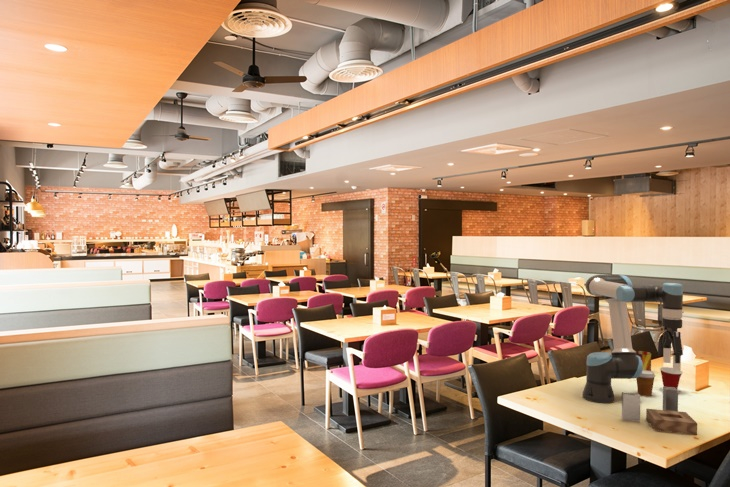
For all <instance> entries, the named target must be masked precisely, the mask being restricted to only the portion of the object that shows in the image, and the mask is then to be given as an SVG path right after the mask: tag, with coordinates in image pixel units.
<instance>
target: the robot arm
mask: <svg viewBox="0 0 730 487" xmlns="http://www.w3.org/2000/svg"><path fill="white" fill-rule="evenodd" d="M584 287H585V289H586V291H587V293H589V294H590V296H591V295H592V296H594V297H603V298H604V300H605V302H606V303H608V308H609V317H610V326H611V328H610V329H611V336H612V343H613V344H612V345H613V350H611V351H610V352H608V351H607V352H605V351H595V352H591V353H589V354H587V356H586V362H585V364H586V374H585V375H586V377H585V378H586V382H585V385H584V387H583V391H582V398H584V400H587V401H590V402H594V403H597V404H599V403H601V404H610V403H611V404H612V403H614V402H615V400H616V396H615V395H616V394H615V393H614V390H613V387H612V380H613V379H614V380H615V379H618V380H619V379H621V380H623V379H625V380H631V379H633V380H634V379H636V378H638V377H639V376H640V375H641V373H642V370H643V363H642V360H641V358H640V357H639V356H637V355H636V351H637V350H635V349H633V344H632V337H631V328H630V319H629V312H628V304H627V303H631V302H632V303H660V304H662V307H661V308H662V309H661V311H662V313H661V314H662V315H661V316H662V318H661V319H662V320H661V322H662V323H661V324H662V325H661V326H662V327H663V330H664V331H663V337H662V342H661V346H662V348H663V349H662V350H663V351H662V352H663V354H662V355H663V358H662V359H663V360H662V361H663V363H665V364H667V363H668V364H671V359H672V368H673V370H677V371H682V370H681V368H682V366H681V365H682V364H681V363H682V362H681V361H682V360H681V359H682V357H681V356H683V355H684V353H683V346H682V338H681V337H682V336H681V334H682V333H681V332H680V331H678V329H682V328H683V320H682V319H683V314H684V313H685V312H684V311H683V304H684V302H683V301H684V292H683V290H684V289H683V284H681V283H677V282H664V283H663V284H662V285H659V284H650V285H633V283H632V281H631V279H630V278H629V277H628V276H626V275H624V274H596V275H592V276H590V277H589V278H588V279H587V280H586V282H585V286H584ZM671 349H672V350H671ZM672 352H673V353H672ZM671 353H672V355H671ZM671 357H672V358H671Z"/></svg>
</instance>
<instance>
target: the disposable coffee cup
mask: <svg viewBox="0 0 730 487" xmlns="http://www.w3.org/2000/svg"><path fill="white" fill-rule="evenodd" d="M655 377H656V375H655V372H654V371H652V370H651V371H647V370H642V373H641V375H640V376H639V377H638V378H635V379H636V387H637V394H639V395H640V396H643V397H652V396H653V394H652V393H653V388H654V383H655Z"/></svg>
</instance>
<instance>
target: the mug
mask: <svg viewBox="0 0 730 487" xmlns="http://www.w3.org/2000/svg"><path fill="white" fill-rule="evenodd" d="M635 351H636V355H637V356H639V357H640V358H641V360H642V363H643V370H647V371H652V353H651V352H649V351H645V350H643V351H642V350H635Z"/></svg>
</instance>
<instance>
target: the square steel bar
mask: <svg viewBox="0 0 730 487" xmlns="http://www.w3.org/2000/svg"><path fill="white" fill-rule="evenodd" d="M662 410H668V411H679V390H678V388H677V389H676V388H675V387H664V386H662Z"/></svg>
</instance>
